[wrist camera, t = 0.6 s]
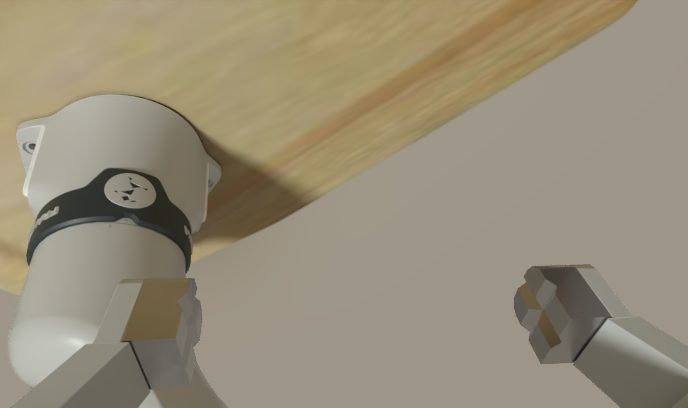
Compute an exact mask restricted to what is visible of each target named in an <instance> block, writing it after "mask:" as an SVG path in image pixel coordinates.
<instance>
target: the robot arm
mask: <svg viewBox="0 0 688 408" xmlns="http://www.w3.org/2000/svg"><path fill="white" fill-rule="evenodd" d="M16 138H17V142H18V146H19V149H20V153H21V157H22V160H23V164H24V168H25V172H26V175H27V176H26V180H25V183H24V187H23V195H25V196H26V197H28V203H29V206H30V209H31V211H32V214H33V216H34V219H35V224H34V225H33V227H32V229H31V232H30V235H29V239H28V241H29V243H28V250H27V255H26V256H27V263H28V265H29V269H28V272H27V276H26V279H25V282H24V285H23V289H22V292H21V295H20V299H19V302H18V306H17V309H16V312H15V316H14V319H13V322H12V325H11V329H10V332H9V336H8V339H7V351H8V357H9V361H10V364H11V366H12V368H13V370H14V371H15V373H16V375H17V376H18V377H19V378H20V379H21V380H22V381H23V382H24V383H25V384H27V385H28V386H29V387H31V388H32V390H31V391H29V392H28V393H27V394H26V395H25V396H23V397H22V398H21V399H20V400H19V401H18V402H16V403H15V404H14V405H13V406H12V407H10V408H228V407H227V406H226V405H225V404H224V402H223V401H222V400H221V399H220V398H219V397H218V396H217V395H216V393H215V392H214V390H213V389H212V388H211V386H210V385H209V383H208V382H207V380H206V379H205V377H204V375H203V373H202V372H201V370H200V368H199V365H198V363H197V361H196V357H195V353H194V349H193V347H194V346H195V345H196V344H197V343H198V341H199V340H200V333H201V326H202V325H201V324H202V310H201V304H200V301H199V300H198V299H197V298H195V295H196V290H197V287H196V283H195V279H193V278H185V274H186V273H187V271H188V270H189V267H190V263H191V255H192V250H193V242H192V234H193V233H194V232H198V231H199V229H200V227H201V223H203V222H205V220H206V216H207V200H208V194H209V193H210V191H211V190H212V189H213V188H214V186H215V185H216V184H217V183H218V181H219V180H220V178H221V173H222V169H221V167H220V165H219V164H218V163H217V162H216V161H215V160H214V159H212V158H211V157H210V156H209V155H208V154H207V153H206V152H205V150H204V148H203V145H202V143H201V141H200V138H199V137H198V135H197V133H196V132H195V130H194V129H193V128H192V127H191V126H190V124H189V123H188V122H187V121H186V120H184V119H183V118H182V117H181V116H179V115H178V114H177V113H175V112H174V111H172V110H170V109H168V108H167V107H165V106H163V105H160V104H158V103H155V102H153V101H150V100H147V99H143V98H139V97H134V96H128V95H98V96H92V97H88V98H84V99H81V100H78V101H76V102H74V103H72V104H70V105H68V106H66V107H65V108H63V109H62V110H60V111H59V112H57V113H56V114H54V115H52V116H50V117H45V118H39V119H33V120H29V121H26V122H23V123H21V124H20V125H19V126H18V128H17V133H16ZM32 143H33V144H36V145H33V144H32ZM524 278H525V280H526V283H525V284H523V285H522V286H521V287H519V288H518V290H517V292H516V294H515V297H514V309H515V313H516V316H517V318H518V320H519V322H520V324H521V325H522V326H523V327H524V328H526V329H527V330H528V331H530V335H529V342H530V344H531V346H532V348H533V350H534V352H535V353H536V355H537V357H538V359H539V361H540V363H541V364H553V363H574V364H573V365H574V366H575V367H576V368H577V369H578V370H580V371H581V372H582V373H583V374H584V375H585V376H586V377H587V378H589V379H590V380H591V381H592V382H593V383H594V384H595V385H596V386H597V387H598V388H600V389H601V390H602V391H603V392H604V393H605V394H606V395H607V396H608V397H610V398H611V399H612V400H613V401H614V402H615V403H616V404H617V405H618V406H619V407H621V408H688V346H686V345H685V344H683V343H681V342H680V341H678V340H676V339H675V338H673V337H671V336H670V335H668V334H667V333H665V332H664V331H662V330H660V329H659V328H657V327H655V326H654V325H652V324H650V323H649V322H647V321H646V320H644V319H642V318H641V317H633V315H632V314H631V313H630V312H629V310H628V309H627V308H626V306H625V305H624V304H623V303H622V301H621V300H620V299H619V297H618V296H617V295H616V294H615V293H614V291H613V290H612V289H611V287H610V286H609V285H608V283H607V282H606V281H605V280H604V278H603V277H602V276H601V274H600V273H599V272H598V271H597V269H596V268H595V267H593V266H591V265H590V264H584V265H555V266H554V265H553V266H532V267H531V268H530V269H528V270H527V272H526V274H525V275H524Z"/></svg>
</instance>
